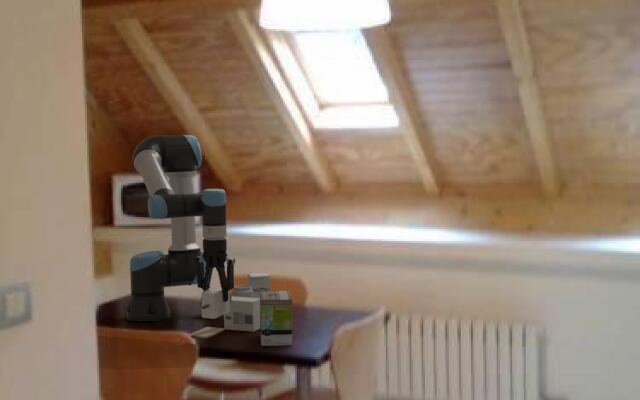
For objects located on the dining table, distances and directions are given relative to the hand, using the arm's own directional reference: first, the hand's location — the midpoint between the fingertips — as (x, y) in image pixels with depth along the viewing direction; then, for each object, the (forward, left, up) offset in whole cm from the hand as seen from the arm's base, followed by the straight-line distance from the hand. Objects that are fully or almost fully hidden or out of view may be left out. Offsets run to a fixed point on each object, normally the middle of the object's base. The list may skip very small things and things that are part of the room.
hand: (216, 310), depth 291 cm
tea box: (+18, +6, -10) cm, 21 cm away
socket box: (0, +17, -10) cm, 20 cm away
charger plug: (0, 0, -1) cm, 1 cm away
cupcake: (-20, +31, -10) cm, 38 cm away
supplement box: (-10, +49, -10) cm, 50 cm away
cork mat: (-8, +7, -10) cm, 14 cm away
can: (-6, +29, -10) cm, 31 cm away
